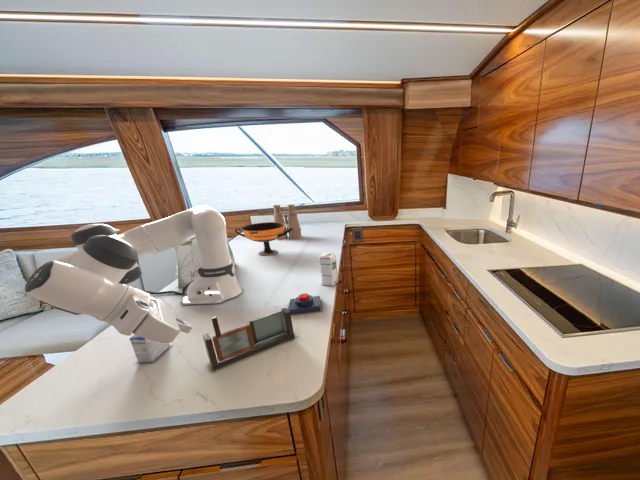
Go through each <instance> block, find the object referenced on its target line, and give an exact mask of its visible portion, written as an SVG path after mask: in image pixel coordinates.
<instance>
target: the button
mask: <svg viewBox="0 0 640 480" xmlns="http://www.w3.org/2000/svg"><path fill="white" fill-rule="evenodd" d="M309 295H310V294H309V293H307V292H305V293H300V294H299V295H298V296H297V297H299V301H306V300H309Z"/></svg>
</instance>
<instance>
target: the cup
mask: <svg viewBox="0 0 640 480" xmlns="http://www.w3.org/2000/svg"><path fill="white" fill-rule="evenodd" d="M285 226H286V224H284V223H279V222H274V221H269V222H268V221H267V222H266V221H265V222H258V223H251V224H246V225H244V226H242V227H241V228H235V229H234V232H235V233H236V234H237V235H238V236H241V237H242V238H246V239H248V240H250V241H253V242H257V243H263V247H264V248H263V250H261V251H260V252H259V253H258V254H259V255H261V256H269V255H274V254H276V253H277V252H278V251H277V250H276V249H271V246H270V242H273V241H276V240H278V239H277V238H279V237H281V236H284V235H286V234H287V235H288V234H289V232H290V231H291V230H292V229H293V228H291V229H290V230H288V231H284V227H285ZM238 231H239V232H238ZM241 232H242V233H241Z"/></svg>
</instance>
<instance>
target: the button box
mask: <svg viewBox="0 0 640 480" xmlns="http://www.w3.org/2000/svg"><path fill="white" fill-rule="evenodd" d="M287 309H288V310H289V311H290V313H291V316H293V315H300V314H301V315H302V314H308V313H309V314H310V313H316V312H321V295H314V296H313V295H311V294H309V300H306V301H299V297H298V296H297V297H295V298H290V299H289V303H288V307H287Z"/></svg>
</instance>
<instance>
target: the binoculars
mask: <svg viewBox="0 0 640 480" xmlns="http://www.w3.org/2000/svg"><path fill="white" fill-rule="evenodd" d="M272 207H273V211H274V214H273V215H272V216H273V222H279V223H284V224H285V227H284V231H288V230H290V229H291V228H293V229H292V230H291V231H290V232H289V233H287V234H286V235H284V236H281V237H279V238H277V239H276V240H286V239H288V238H289V239H290V240H297V239H298V240H299V239H302V237H303V236H302V228H301V225H300V222H299V218H298V214H297V213H296V207H295V204H287V206H286V207H281V204H273V205H272ZM282 209H283V212H284V213H282V211H281V210H282ZM286 209H287V210H288V214H287V211H286Z"/></svg>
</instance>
